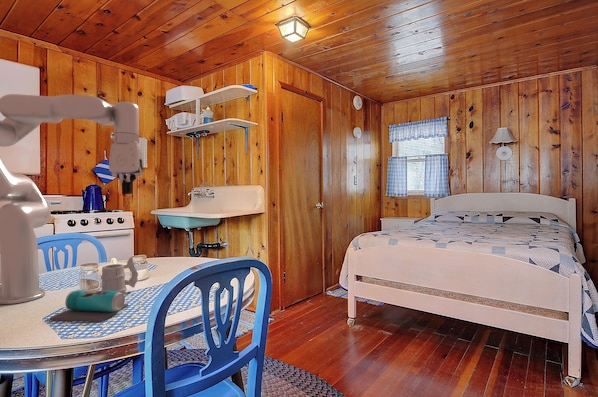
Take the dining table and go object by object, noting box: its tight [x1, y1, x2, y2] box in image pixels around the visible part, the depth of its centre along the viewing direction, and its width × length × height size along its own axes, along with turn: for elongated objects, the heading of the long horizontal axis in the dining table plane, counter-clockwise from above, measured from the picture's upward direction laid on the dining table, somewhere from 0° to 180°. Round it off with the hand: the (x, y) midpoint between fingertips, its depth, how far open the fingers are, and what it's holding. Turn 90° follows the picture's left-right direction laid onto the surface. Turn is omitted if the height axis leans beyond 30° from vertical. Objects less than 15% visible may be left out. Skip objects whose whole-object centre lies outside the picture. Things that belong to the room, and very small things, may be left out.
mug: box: [100, 256, 139, 296], centre depth 115 cm, size 8×12×12 cm, turn 139°
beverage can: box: [64, 289, 126, 312], centre depth 98 cm, size 6×6×15 cm
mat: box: [49, 303, 129, 323], centre depth 98 cm, size 15×12×1 cm
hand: (127, 193), depth 115 cm, fingers closed
